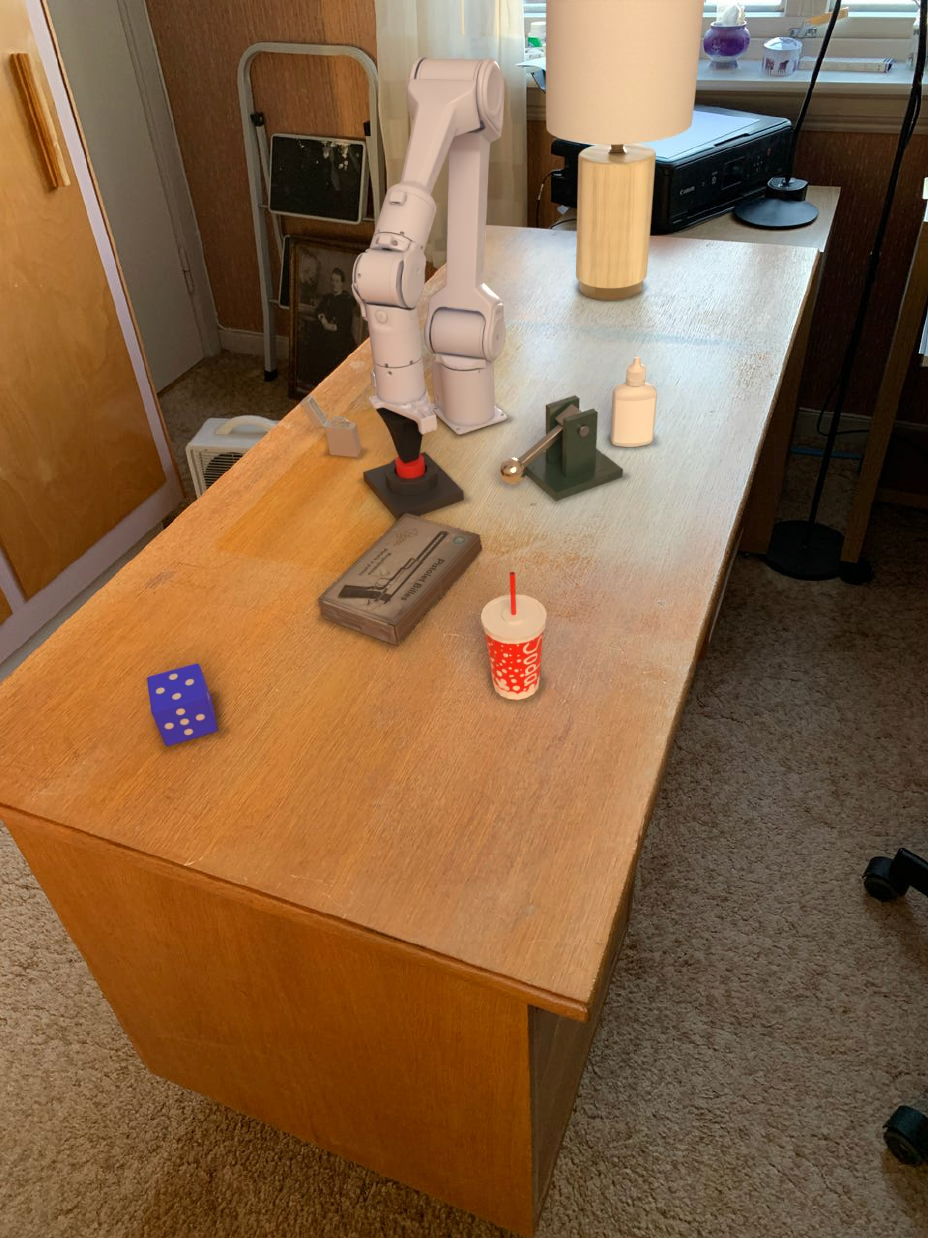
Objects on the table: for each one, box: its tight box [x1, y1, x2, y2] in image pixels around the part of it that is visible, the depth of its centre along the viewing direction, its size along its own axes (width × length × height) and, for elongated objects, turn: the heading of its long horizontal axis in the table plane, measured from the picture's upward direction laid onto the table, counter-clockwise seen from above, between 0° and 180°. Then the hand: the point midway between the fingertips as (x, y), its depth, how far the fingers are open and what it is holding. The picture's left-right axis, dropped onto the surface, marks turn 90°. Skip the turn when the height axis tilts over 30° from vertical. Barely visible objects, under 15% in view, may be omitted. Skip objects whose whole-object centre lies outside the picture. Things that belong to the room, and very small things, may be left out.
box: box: [316, 513, 483, 646], centre depth 101 cm, size 11×17×3 cm, turn 148°
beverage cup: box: [480, 571, 548, 701], centre depth 86 cm, size 6×6×14 cm
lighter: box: [299, 394, 362, 458], centre depth 123 cm, size 7×2×8 cm, turn 74°
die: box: [146, 662, 219, 747], centre depth 88 cm, size 5×5×5 cm
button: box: [394, 454, 425, 478], centre depth 115 cm, size 4×4×2 cm
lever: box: [499, 404, 582, 485], centre depth 113 cm, size 12×3×3 cm, turn 117°
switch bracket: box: [525, 394, 624, 502], centre depth 115 cm, size 10×9×9 cm
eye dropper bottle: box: [609, 356, 658, 448], centre depth 119 cm, size 4×6×12 cm
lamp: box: [545, 0, 705, 301], centre depth 146 cm, size 23×23×44 cm
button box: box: [362, 451, 465, 521], centre depth 116 cm, size 11×9×3 cm
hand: (409, 458), depth 114 cm, fingers closed
